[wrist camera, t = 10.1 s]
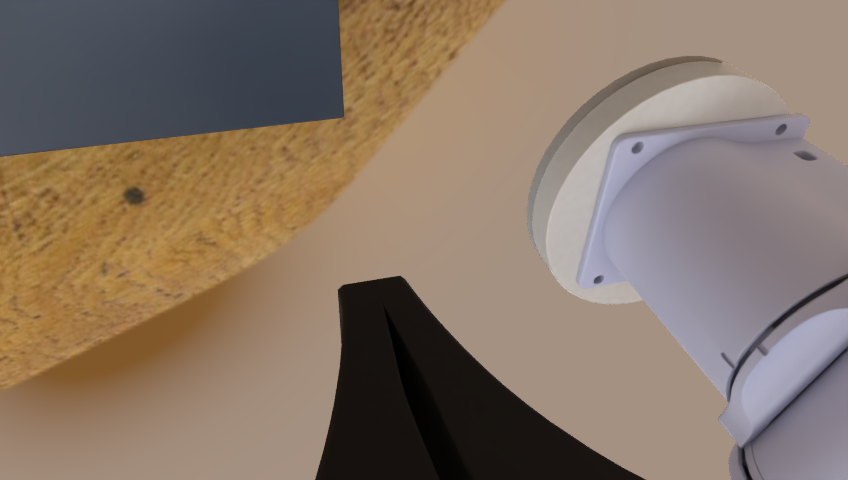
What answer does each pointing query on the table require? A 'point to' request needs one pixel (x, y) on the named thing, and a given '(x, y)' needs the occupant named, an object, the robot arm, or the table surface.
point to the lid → (162, 69)
